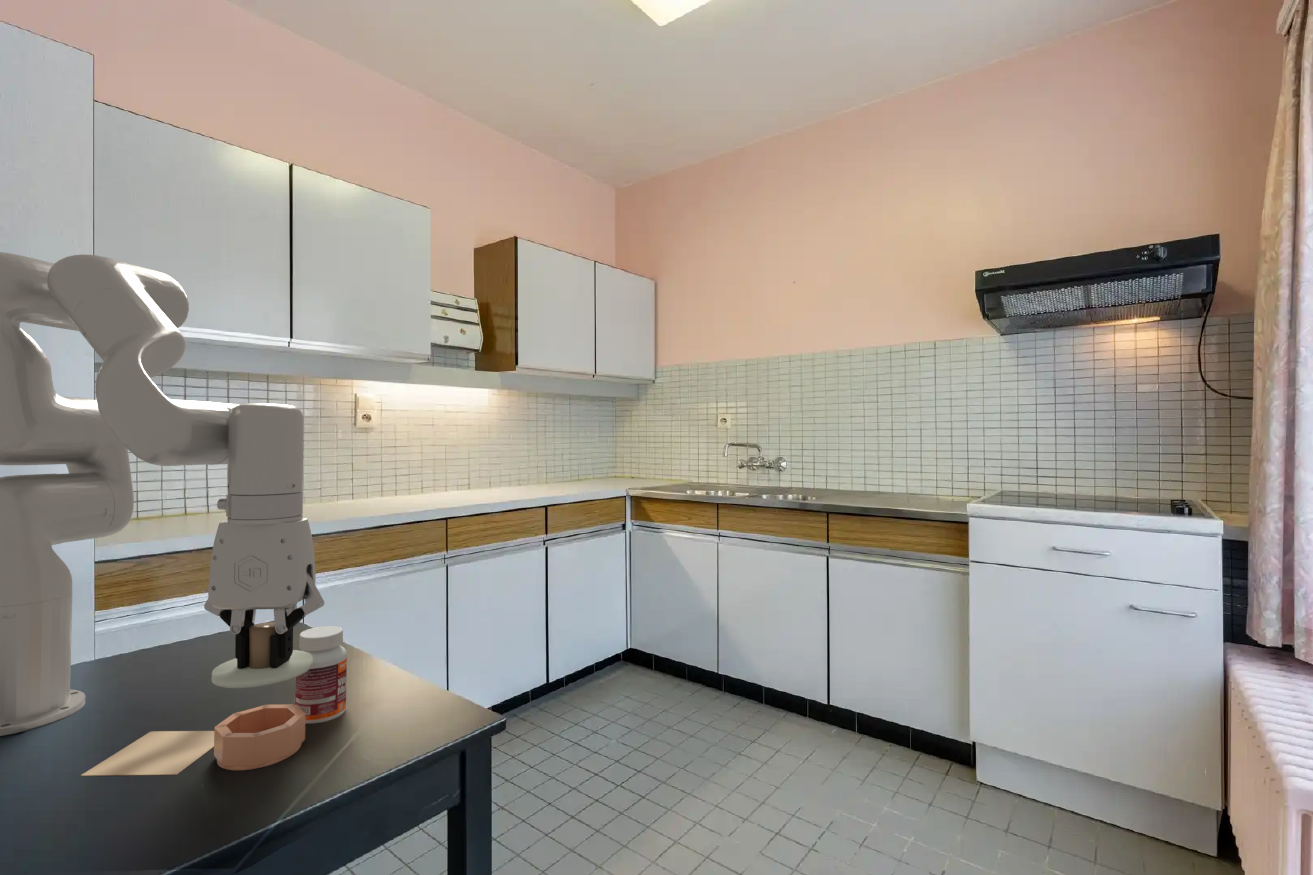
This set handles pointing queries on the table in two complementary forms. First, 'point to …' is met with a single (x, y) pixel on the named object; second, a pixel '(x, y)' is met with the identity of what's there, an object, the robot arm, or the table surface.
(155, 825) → the table surface
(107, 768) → the mat
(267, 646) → the lid
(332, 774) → the table surface
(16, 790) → the table surface
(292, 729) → the bowl
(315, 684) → the pill bottle
